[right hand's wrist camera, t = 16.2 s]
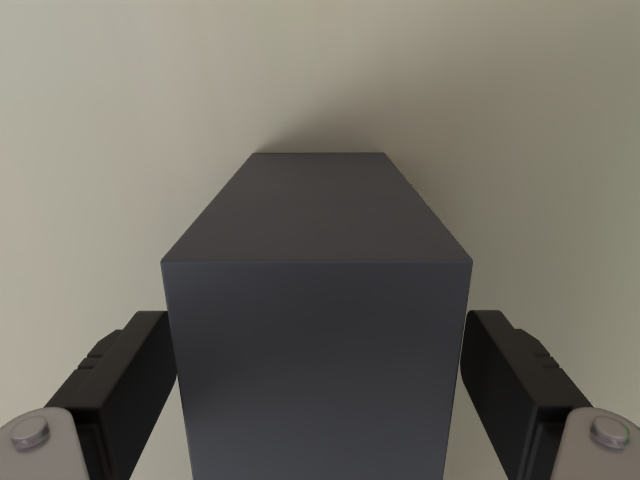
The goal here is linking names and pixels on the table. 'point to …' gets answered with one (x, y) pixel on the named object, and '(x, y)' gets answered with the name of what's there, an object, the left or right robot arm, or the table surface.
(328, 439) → the box
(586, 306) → the table surface
